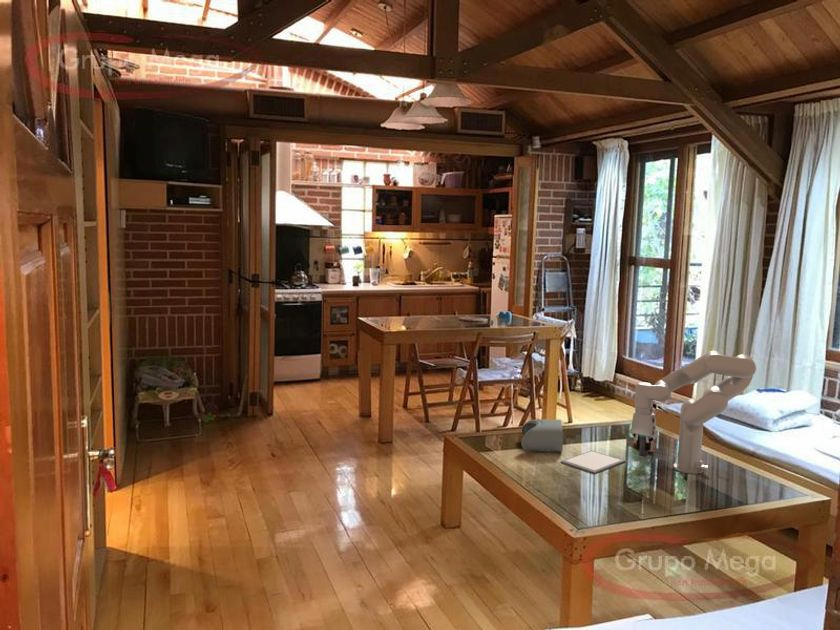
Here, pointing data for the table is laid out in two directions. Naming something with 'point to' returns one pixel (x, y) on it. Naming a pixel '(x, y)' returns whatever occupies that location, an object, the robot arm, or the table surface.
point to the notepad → (593, 461)
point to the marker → (642, 446)
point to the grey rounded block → (542, 435)
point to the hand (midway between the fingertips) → (643, 449)
